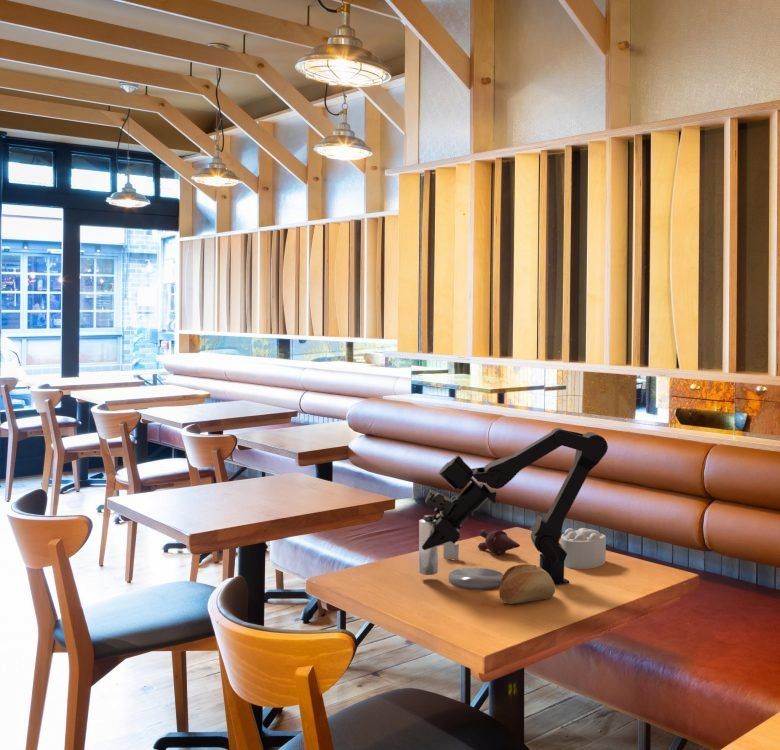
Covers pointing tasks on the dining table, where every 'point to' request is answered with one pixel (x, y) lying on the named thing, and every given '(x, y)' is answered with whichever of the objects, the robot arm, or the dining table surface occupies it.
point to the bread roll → (525, 584)
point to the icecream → (496, 542)
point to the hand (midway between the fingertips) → (422, 546)
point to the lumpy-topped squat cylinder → (583, 548)
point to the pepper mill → (429, 556)
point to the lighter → (451, 550)
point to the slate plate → (475, 578)
